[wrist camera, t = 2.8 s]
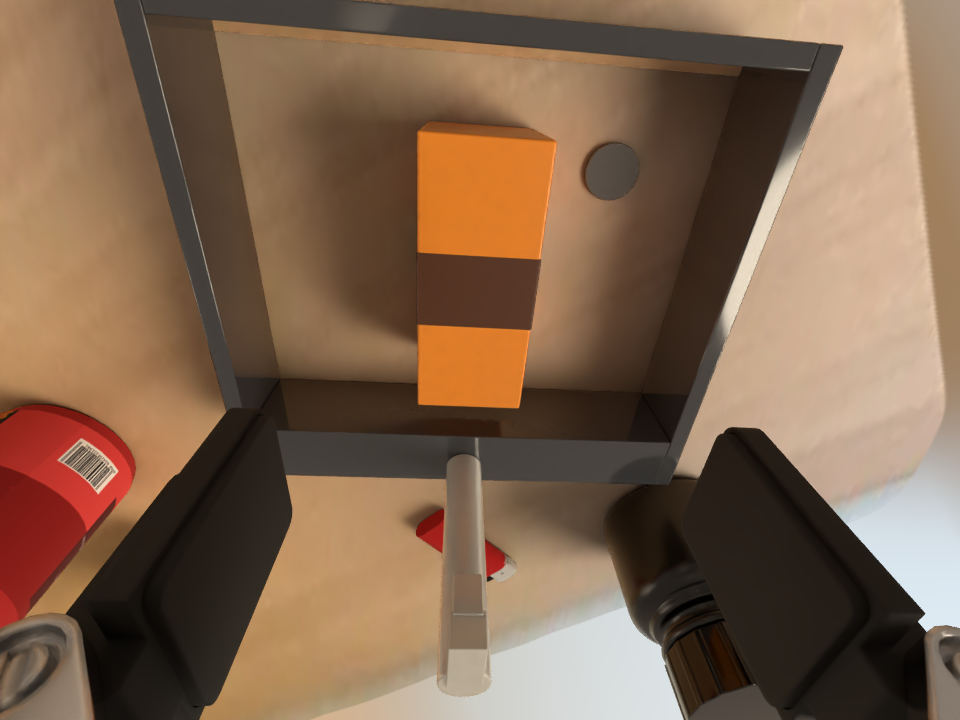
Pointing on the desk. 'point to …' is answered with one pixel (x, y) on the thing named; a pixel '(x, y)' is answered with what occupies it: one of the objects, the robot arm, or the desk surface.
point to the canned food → (52, 496)
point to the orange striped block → (478, 258)
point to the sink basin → (394, 407)
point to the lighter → (495, 559)
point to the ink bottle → (680, 606)
